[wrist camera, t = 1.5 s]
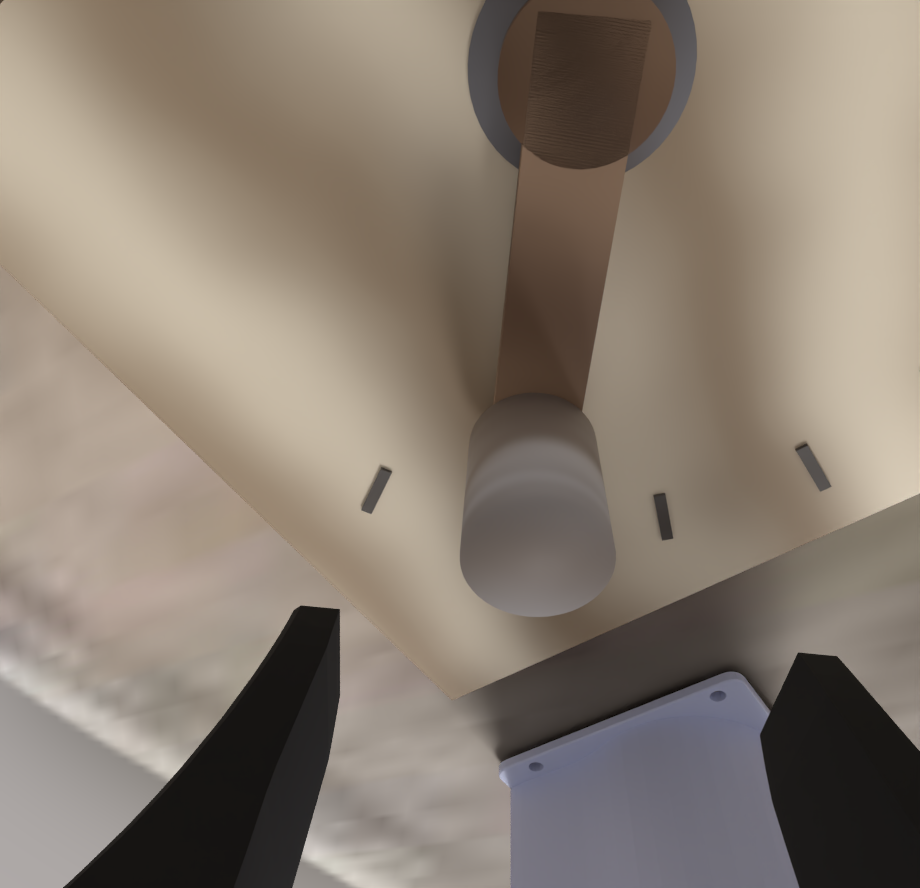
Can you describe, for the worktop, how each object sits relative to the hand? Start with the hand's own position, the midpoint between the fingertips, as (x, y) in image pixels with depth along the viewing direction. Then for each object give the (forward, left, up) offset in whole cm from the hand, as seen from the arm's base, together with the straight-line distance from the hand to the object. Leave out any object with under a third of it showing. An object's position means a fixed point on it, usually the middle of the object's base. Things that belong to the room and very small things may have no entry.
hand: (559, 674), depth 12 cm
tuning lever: (+1, +2, -8) cm, 8 cm away
